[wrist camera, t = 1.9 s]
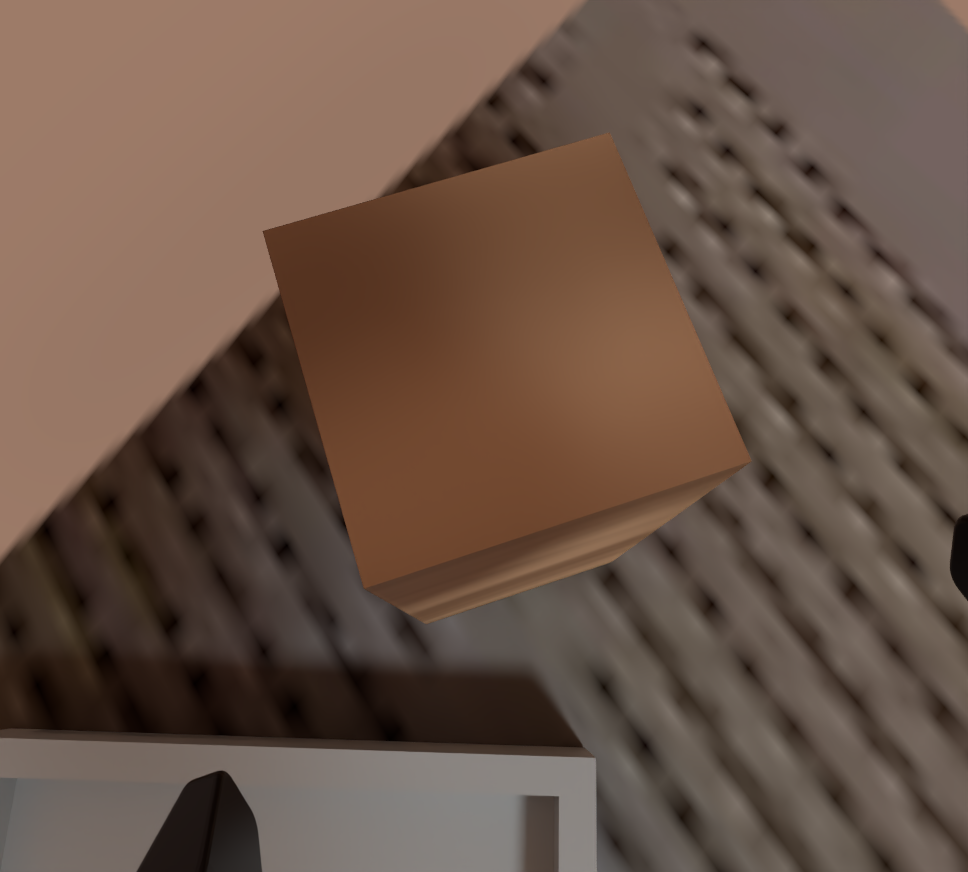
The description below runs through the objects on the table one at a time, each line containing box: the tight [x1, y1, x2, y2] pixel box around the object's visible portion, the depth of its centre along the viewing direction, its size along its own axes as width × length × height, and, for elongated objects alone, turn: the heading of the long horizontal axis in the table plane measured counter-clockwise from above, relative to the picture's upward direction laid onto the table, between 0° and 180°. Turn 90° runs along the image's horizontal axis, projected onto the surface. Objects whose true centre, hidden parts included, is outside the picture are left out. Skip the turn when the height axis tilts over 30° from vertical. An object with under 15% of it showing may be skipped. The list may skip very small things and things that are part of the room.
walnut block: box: [263, 133, 751, 624], centre depth 15 cm, size 5×5×11 cm
